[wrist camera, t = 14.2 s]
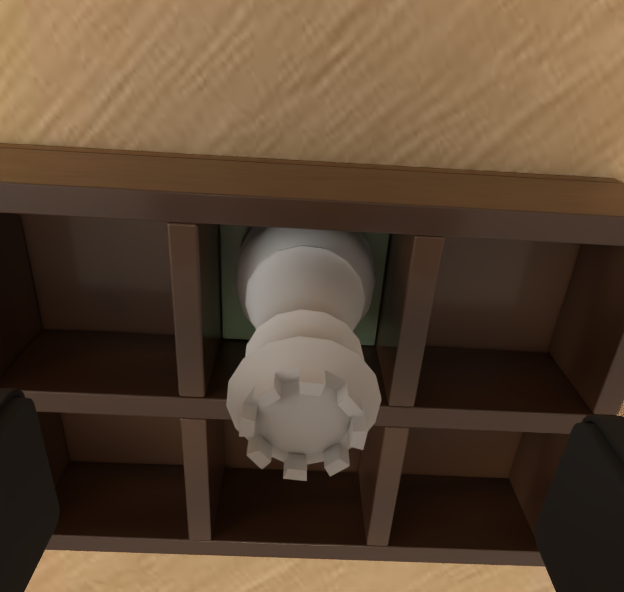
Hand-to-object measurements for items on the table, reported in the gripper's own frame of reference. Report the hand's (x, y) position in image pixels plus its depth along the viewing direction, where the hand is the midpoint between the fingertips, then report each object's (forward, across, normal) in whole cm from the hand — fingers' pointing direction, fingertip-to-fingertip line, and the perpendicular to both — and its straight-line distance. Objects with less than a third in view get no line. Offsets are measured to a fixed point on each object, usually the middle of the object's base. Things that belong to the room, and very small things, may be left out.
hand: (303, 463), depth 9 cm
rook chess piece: (+9, 0, 0) cm, 9 cm away
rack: (+10, 0, +4) cm, 10 cm away
